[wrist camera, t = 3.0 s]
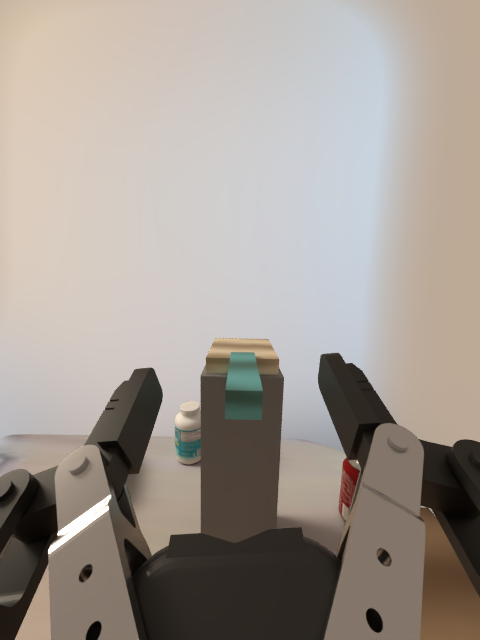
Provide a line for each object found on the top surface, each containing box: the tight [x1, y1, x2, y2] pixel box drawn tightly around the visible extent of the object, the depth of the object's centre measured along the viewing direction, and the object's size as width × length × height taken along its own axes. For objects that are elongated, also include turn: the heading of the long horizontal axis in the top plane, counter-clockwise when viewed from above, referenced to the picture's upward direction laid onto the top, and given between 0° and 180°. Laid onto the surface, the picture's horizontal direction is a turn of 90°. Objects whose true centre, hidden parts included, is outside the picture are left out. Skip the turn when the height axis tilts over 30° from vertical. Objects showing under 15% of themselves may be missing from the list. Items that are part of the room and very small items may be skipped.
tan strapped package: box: [206, 338, 279, 420], centre depth 29 cm, size 21×9×2 cm, turn 0°
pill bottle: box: [175, 401, 201, 464], centre depth 58 cm, size 8×7×14 cm
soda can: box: [339, 458, 361, 522], centre depth 43 cm, size 7×7×12 cm
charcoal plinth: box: [201, 365, 284, 543], centre depth 36 cm, size 12×10×32 cm
